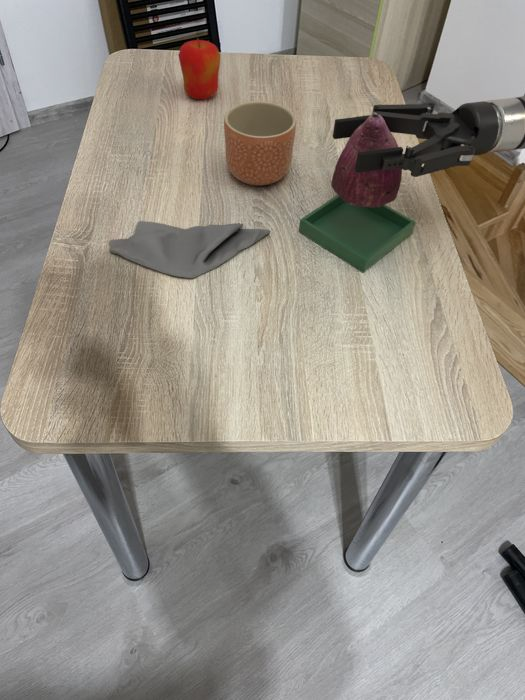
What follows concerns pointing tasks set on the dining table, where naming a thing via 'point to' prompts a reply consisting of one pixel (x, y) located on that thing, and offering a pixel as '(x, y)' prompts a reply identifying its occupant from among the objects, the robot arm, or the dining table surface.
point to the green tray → (356, 231)
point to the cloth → (184, 246)
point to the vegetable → (370, 184)
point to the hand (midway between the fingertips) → (345, 145)
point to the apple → (200, 68)
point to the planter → (259, 141)
